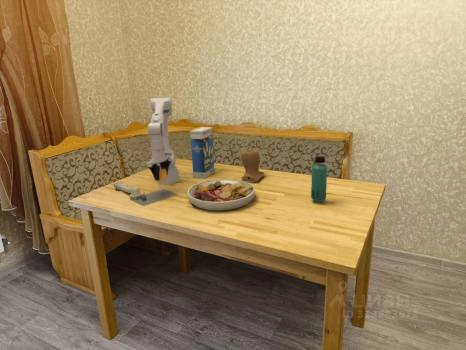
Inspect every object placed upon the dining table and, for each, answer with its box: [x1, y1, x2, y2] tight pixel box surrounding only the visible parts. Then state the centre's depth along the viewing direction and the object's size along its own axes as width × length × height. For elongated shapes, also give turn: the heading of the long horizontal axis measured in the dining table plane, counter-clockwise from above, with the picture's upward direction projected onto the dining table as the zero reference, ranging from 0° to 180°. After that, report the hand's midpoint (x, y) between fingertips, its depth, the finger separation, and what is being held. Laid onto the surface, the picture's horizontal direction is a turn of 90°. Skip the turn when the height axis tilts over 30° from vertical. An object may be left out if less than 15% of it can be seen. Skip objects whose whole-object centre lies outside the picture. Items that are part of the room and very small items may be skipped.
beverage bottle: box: [310, 155, 328, 202], centre depth 141 cm, size 6×7×20 cm
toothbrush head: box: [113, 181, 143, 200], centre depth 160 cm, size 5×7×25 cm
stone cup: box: [240, 149, 265, 183], centre depth 176 cm, size 15×12×15 cm
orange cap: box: [154, 168, 167, 183], centre depth 153 cm, size 5×5×5 cm
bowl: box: [187, 178, 256, 211], centre depth 149 cm, size 30×30×8 cm
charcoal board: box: [129, 188, 178, 207], centre depth 153 cm, size 18×12×4 cm, turn 135°
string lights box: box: [189, 126, 215, 179], centre depth 183 cm, size 13×8×26 cm, turn 159°
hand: (161, 178), depth 154 cm, fingers closed on orange cap, 5 cm apart
